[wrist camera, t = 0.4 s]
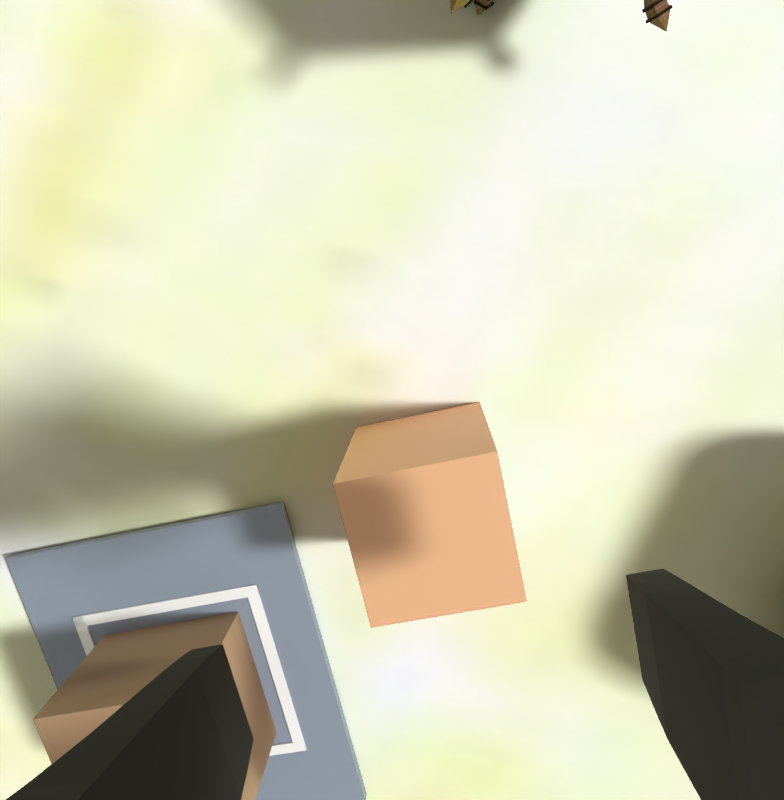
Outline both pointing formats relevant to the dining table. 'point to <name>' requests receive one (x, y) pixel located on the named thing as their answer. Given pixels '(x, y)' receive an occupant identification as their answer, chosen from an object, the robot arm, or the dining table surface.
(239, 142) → the dining table surface
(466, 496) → the terracotta block
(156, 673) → the walnut block
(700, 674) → the robot arm
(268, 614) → the mat
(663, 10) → the game die
